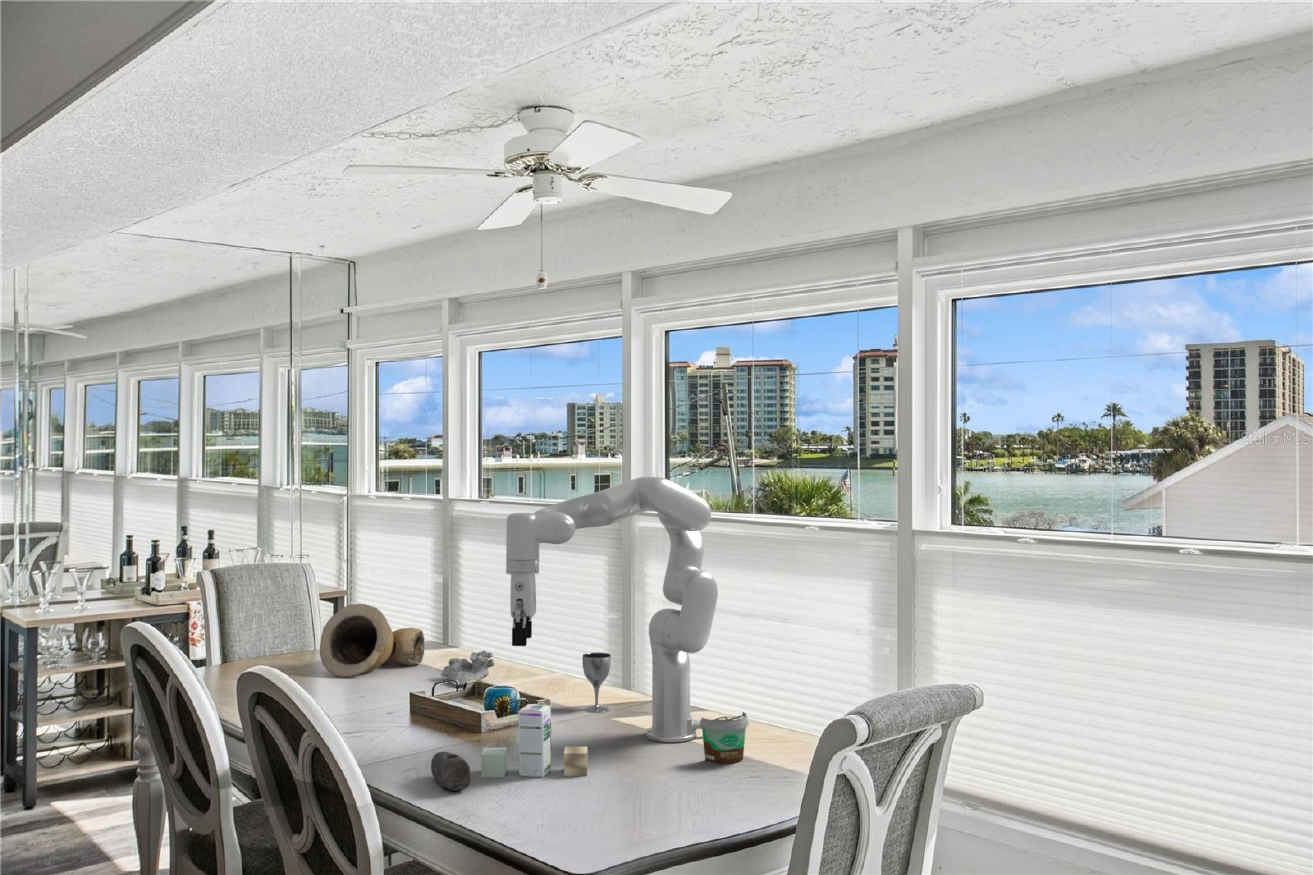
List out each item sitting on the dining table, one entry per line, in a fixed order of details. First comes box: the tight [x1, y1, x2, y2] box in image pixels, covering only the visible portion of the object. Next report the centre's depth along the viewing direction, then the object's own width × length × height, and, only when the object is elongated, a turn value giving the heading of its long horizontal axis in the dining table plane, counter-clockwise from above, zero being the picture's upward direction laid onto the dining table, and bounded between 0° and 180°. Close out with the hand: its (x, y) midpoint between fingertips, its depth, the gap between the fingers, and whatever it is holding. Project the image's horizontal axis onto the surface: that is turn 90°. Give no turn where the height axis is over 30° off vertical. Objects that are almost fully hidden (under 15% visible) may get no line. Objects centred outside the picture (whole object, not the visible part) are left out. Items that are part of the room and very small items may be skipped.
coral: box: [440, 650, 495, 687], centre depth 301 cm, size 17×14×10 cm
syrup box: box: [518, 703, 552, 778], centre depth 213 cm, size 6×6×14 cm
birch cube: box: [563, 746, 588, 777], centre depth 214 cm, size 5×5×5 cm
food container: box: [699, 711, 750, 765], centre depth 222 cm, size 12×6×10 cm, turn 117°
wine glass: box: [582, 651, 612, 714], centre depth 268 cm, size 8×8×15 cm
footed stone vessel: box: [319, 603, 425, 678], centre depth 322 cm, size 23×29×30 cm
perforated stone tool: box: [430, 751, 472, 792], centre depth 205 cm, size 15×5×7 cm, turn 33°
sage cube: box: [480, 747, 508, 778], centre depth 213 cm, size 5×5×5 cm
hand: (522, 641), depth 221 cm, fingers open, 9 cm apart
